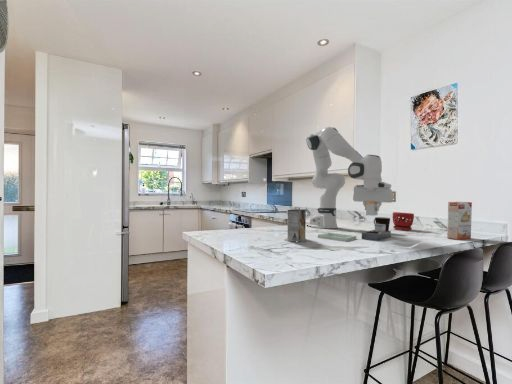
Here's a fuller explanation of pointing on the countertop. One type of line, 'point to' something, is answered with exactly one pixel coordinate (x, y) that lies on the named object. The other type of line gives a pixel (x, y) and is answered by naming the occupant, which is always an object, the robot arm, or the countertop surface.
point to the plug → (371, 208)
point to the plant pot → (403, 220)
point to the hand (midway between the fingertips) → (371, 210)
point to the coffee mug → (382, 221)
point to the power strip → (375, 235)
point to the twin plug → (380, 227)
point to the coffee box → (296, 224)
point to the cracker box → (459, 220)
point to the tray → (337, 236)
